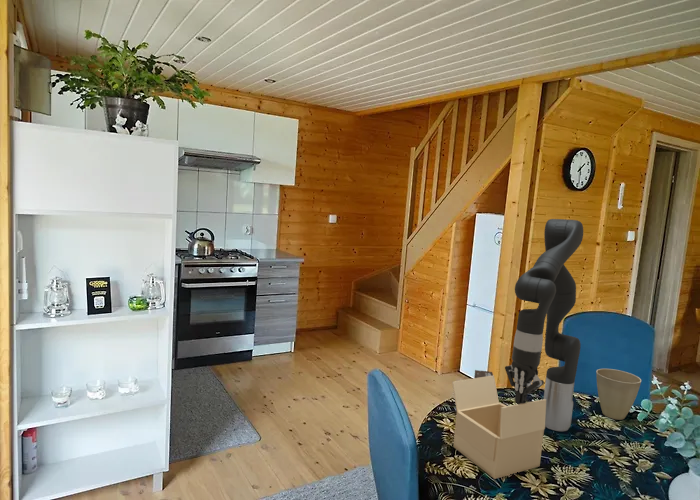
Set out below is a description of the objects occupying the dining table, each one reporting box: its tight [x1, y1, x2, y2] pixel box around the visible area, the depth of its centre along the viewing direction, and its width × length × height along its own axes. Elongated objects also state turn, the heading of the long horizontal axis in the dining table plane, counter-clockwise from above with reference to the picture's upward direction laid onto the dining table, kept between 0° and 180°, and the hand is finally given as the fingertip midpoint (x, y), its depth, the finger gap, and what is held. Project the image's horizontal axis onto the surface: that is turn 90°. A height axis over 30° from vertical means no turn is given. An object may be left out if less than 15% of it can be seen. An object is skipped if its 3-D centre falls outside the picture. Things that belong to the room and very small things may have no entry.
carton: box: [453, 402, 545, 480], centre depth 142 cm, size 19×18×12 cm
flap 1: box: [451, 374, 500, 412], centre depth 151 cm, size 17×9×1 cm
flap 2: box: [500, 398, 546, 439], centre depth 133 cm, size 17×9×1 cm
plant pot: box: [595, 368, 642, 421], centre depth 177 cm, size 15×15×16 cm
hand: (519, 403), depth 135 cm, fingers closed
